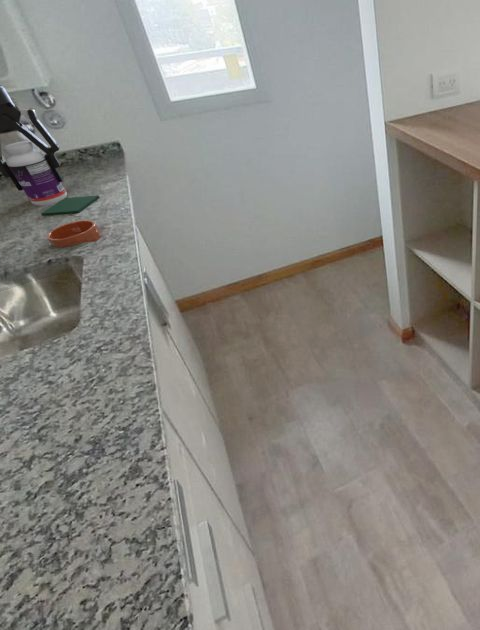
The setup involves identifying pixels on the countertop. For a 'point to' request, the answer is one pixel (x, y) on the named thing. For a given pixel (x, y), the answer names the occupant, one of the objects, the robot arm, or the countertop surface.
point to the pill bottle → (34, 174)
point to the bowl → (74, 233)
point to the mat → (70, 205)
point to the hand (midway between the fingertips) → (41, 184)
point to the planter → (13, 140)
